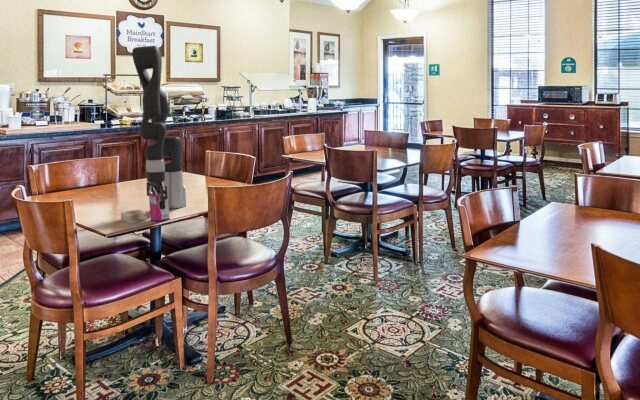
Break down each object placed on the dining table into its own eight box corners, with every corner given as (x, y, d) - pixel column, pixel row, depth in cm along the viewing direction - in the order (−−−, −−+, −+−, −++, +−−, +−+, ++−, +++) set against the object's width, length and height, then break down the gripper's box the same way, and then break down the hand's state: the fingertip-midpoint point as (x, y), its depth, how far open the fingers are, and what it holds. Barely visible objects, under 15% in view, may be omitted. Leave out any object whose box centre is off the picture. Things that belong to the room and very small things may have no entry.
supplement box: (161, 217, 236) (160, 191, 234) (170, 219, 233) (168, 193, 230) (150, 219, 232) (148, 193, 229) (158, 222, 228) (156, 195, 226)
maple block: (139, 217, 238) (138, 209, 237) (146, 220, 232) (146, 212, 231) (121, 220, 233) (120, 212, 232) (128, 223, 227) (127, 215, 226)
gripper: (171, 171, 225) (173, 209, 228) (155, 167, 235) (158, 204, 238) (155, 172, 220) (157, 211, 223) (139, 169, 230) (141, 206, 233)
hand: (157, 207), depth 231 cm, fingers open, 8 cm apart
